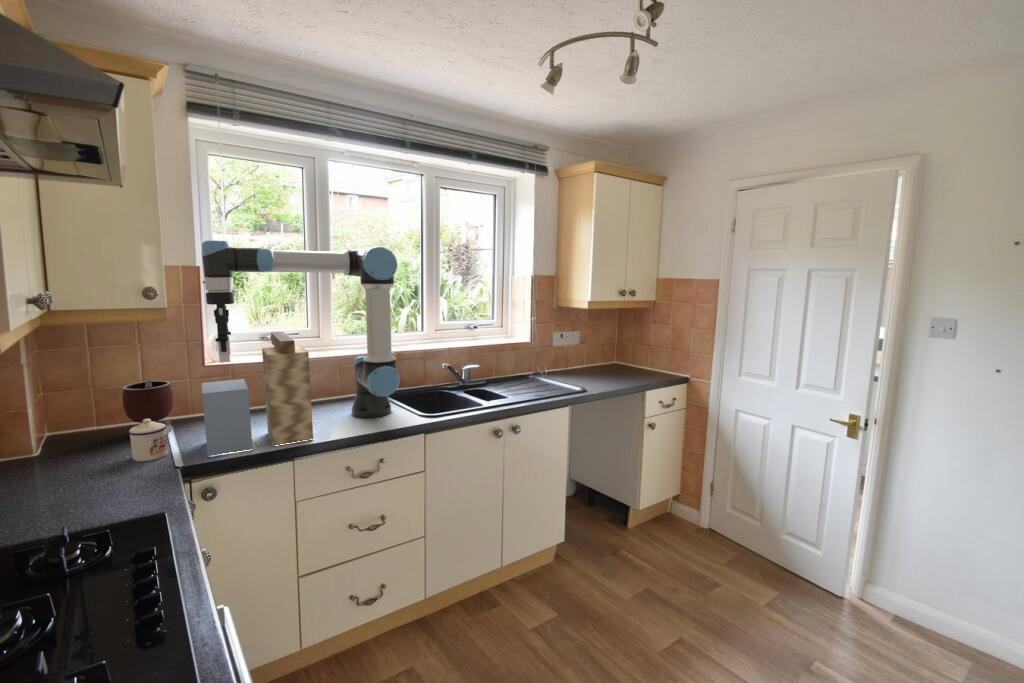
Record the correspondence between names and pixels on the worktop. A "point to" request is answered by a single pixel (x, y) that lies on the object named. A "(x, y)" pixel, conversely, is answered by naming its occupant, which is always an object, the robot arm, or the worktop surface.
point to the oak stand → (287, 395)
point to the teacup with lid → (148, 441)
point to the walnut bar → (282, 342)
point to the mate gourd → (148, 401)
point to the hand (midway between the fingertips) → (225, 358)
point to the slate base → (227, 416)
